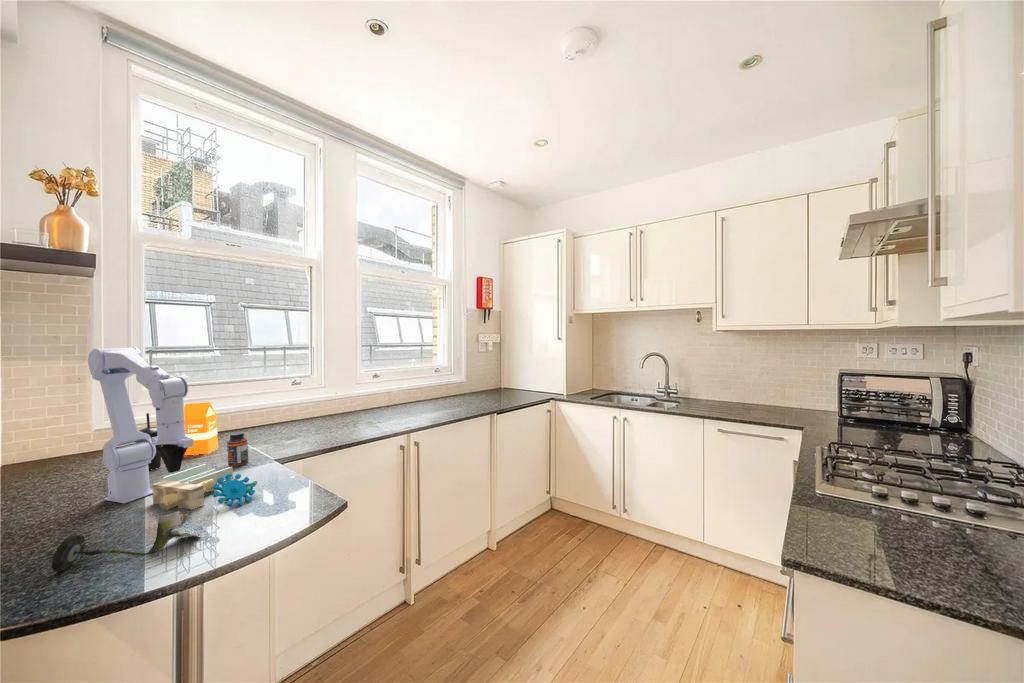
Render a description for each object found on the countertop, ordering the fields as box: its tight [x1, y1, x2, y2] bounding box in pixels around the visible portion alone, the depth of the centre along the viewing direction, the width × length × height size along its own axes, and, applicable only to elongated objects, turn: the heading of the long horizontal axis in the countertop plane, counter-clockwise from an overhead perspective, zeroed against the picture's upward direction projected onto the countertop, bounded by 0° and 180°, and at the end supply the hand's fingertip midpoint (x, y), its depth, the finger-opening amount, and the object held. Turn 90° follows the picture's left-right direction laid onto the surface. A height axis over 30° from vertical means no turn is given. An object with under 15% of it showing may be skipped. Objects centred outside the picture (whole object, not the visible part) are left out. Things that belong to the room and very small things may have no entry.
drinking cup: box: [135, 412, 163, 470], centre depth 134 cm, size 8×8×20 cm
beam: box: [151, 480, 205, 511], centre depth 105 cm, size 16×3×5 cm, turn 71°
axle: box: [159, 479, 217, 511], centre depth 107 cm, size 12×4×4 cm, turn 161°
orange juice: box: [184, 401, 219, 456], centre depth 152 cm, size 8×9×20 cm
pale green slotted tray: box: [162, 463, 234, 484], centre depth 119 cm, size 13×12×4 cm
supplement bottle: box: [226, 431, 249, 468], centre depth 136 cm, size 6×6×11 cm
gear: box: [212, 473, 258, 508], centre depth 105 cm, size 11×6×10 cm
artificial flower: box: [50, 510, 202, 573], centre depth 81 cm, size 9×22×10 cm, turn 109°
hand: (174, 471), depth 104 cm, fingers closed
